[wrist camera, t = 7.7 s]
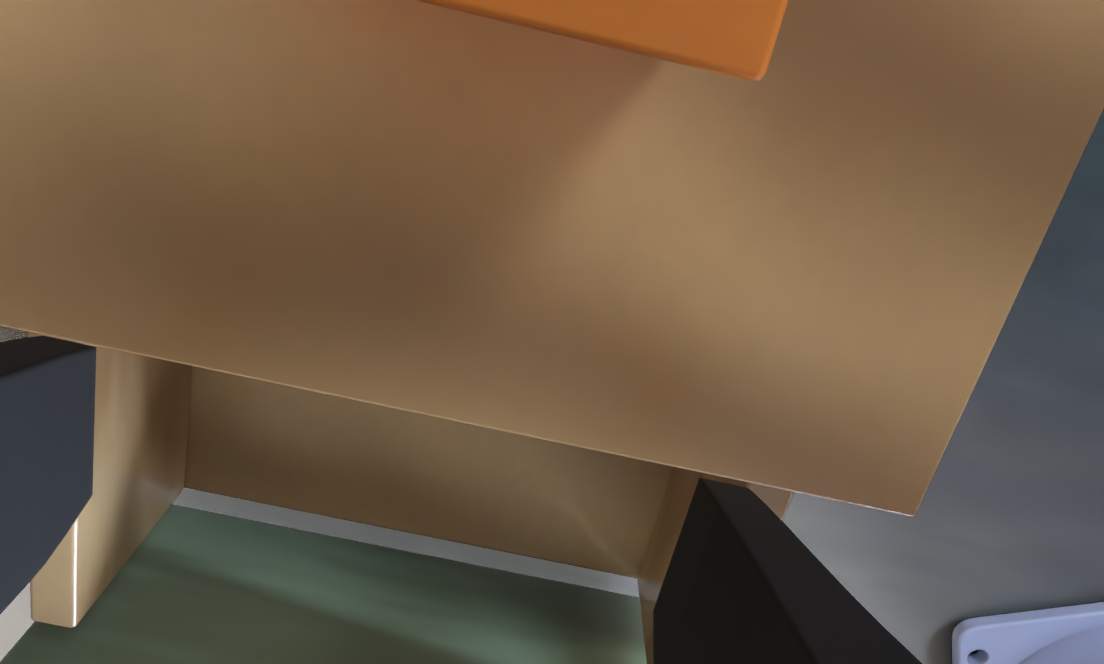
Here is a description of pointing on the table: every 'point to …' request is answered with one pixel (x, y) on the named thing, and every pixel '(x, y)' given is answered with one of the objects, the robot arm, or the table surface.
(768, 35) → the plain orange block
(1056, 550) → the table surface
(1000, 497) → the table surface
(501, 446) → the drawer
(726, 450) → the cabinet
